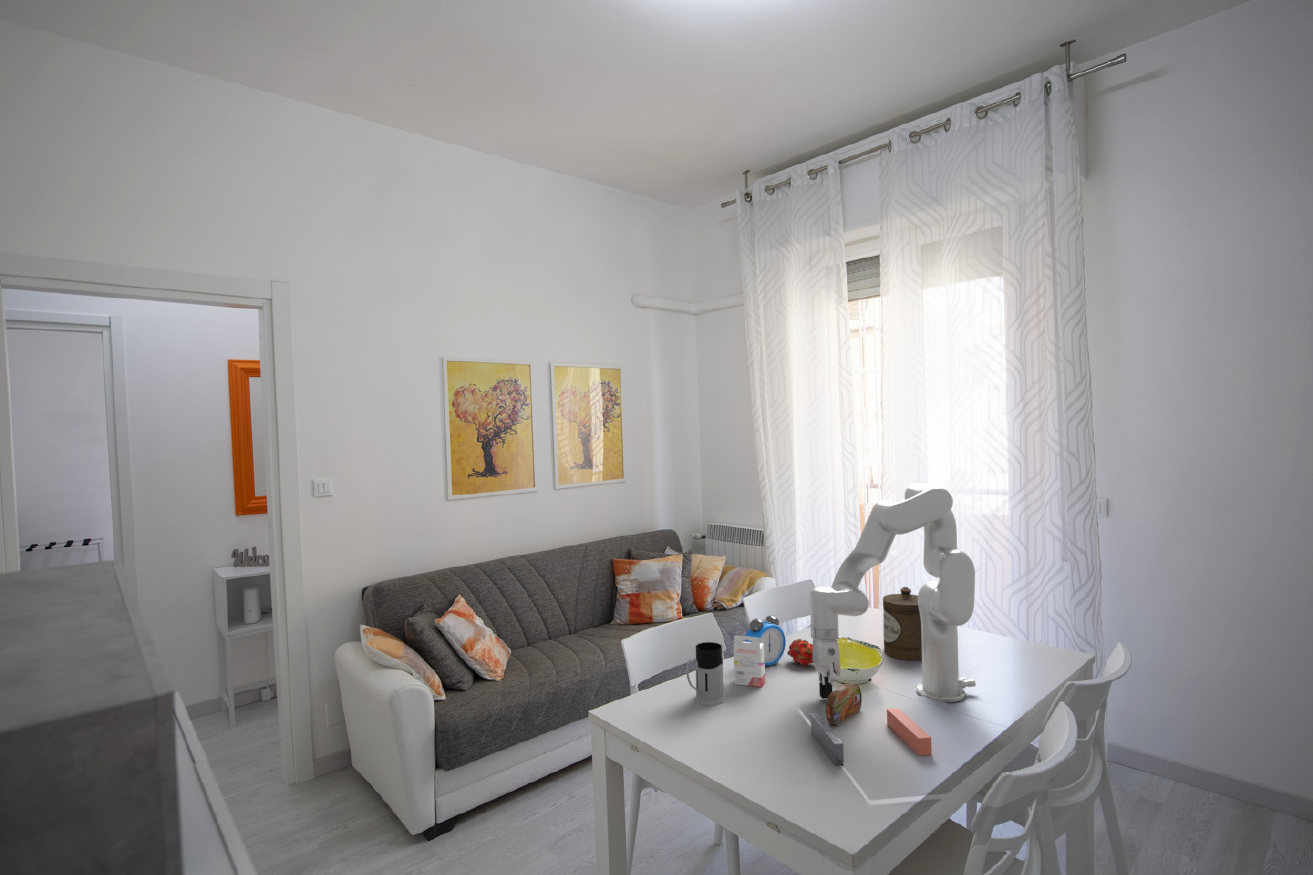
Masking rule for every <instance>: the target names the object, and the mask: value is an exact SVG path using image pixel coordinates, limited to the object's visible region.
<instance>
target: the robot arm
mask: <svg viewBox="0 0 1313 875" xmlns="http://www.w3.org/2000/svg"><path fill="white" fill-rule="evenodd" d="M904 499H905V500H903V501H900V502H897V501H893V500H886V499H885V500H881V501H878V502H876V503H875V504H874V505H873V507H872V509H871V511H870V513H869V515H868V518H867V520H866V522H865V524H864V527H863V528H862V532H861V534H860V536H859V539H858V542H856V546H855V547H854V549H853V550H851V552H850V553H849V554H848V555H847V557H846V558H845V559H844V560H843V561H842V562H841V564H840V566H839V568H838V570H837V572H836V574H835V577H834V579H833V582H832V584H831V587H830V586H816V587H813V588H811V590H810V592H809V604H810V605H809V606H810V614H809V615H810V638H811V639H812V645H813V663H812V664H813V665H812V666H813V667H814V668H815V669H816V670H817V672H818V681H819V682H818V684H819V686H818V687H819V688H818V689H819V697H820V698H821V699H823V700H824V699H827V698H828V696H829V694H830V693H831V692H833V684H834V683H835V676H837V677H841V675H842V674H841V656H840V654H841V653H840V649H839V648H840V647H839V641H838V640H839V638H840V637H839V634H840V633H839V616H846V617H847V616H848V617H859V616H862V615H864V614H865V613H866V612H867V611H868V610H869V606H870V600H869V598H868V596H867V595H866V594H865V593H864V592H863V591H862V590H860V588H859V586H860V584H861V581H862V580H863V578H864V576H865V575H866V573H867V572H868V571H869V570H870V569H872V568H873V567H875V566H878V565H880V564H882V563H883V562H885V560H886V559H887V557H888V554H889V553H890V549H891V547H892V544H893V542H894V540H895V538H896V535H905V534H909V533H911V532H914V531H916V530H918V529H920V528H922V527H923V535H924V538H923V559H922V560H923V567H924V570H925V571H926V572H927V574H929V575H931V576H932V577H934V578H935V579H938V580H939V581H938V580H936V581H935V580H933V581H931V580H930V581H927V582H926V583H924V584H923V585H922V586H921V587H920V588H919V591H918V607H919V612H920V618H921V634H922V637H921V639H922V660H921V675H922V676H921V677H922V678H921V681H922V682H920V683H918V684H917V685H916V692H917V693H918V695H920V696H921V697H926V698H929V699H932V700H938V701H942V702H945V703H956V702H961V701H963V700H964V699H965V698H966V692H965V690H964V689H966V688H973V687H976V681H975V679H966V677H959V676H960V675H959V671H960V670H959V632H958V631H959V630H958V627H959V626H960V627H961V626H963V625H965V624H966V623H968V622H969V621H970V619H971V618H972V616H973V613H974V610H975V609H974V608H975V592H976V591H975V590H976V587H975V585H976V569H975V565H974V562H973V561H972V559H971V557H970V556H969V555H968V554H967V553H966V552H964V551H962V550H960V549H958V536H957V534H958V533H957V529H958V528H957V522H956V518H955V515H954V513H953V511H952V507H953V503H954V502H953V501H954V500H953V496H952V494H951V493H950V491H949V490H947V489H946V488H944V487H941V486H937V485H933V484H929V483H923V482H922V483H921V482H915V483H912V484H910V485H909V486H907V488H906V489H905V492H904Z"/></svg>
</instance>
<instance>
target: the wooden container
mask: <svg viewBox="0 0 1313 875" xmlns="http://www.w3.org/2000/svg"><path fill="white" fill-rule="evenodd" d="M911 592H912V590H911V589H910V588H909V587H907V586H903V587H901V588H900V593H892V594H887V595H884V596H883V597H882V608H883V609H882V610H883V613H882V614H883V615H882V616H883V621H882V622H883V625H882V626H883V627H882V628H883V650H884V653H885V654H886V655H888V656H890V657H892V658H894V659H898V660H905V661H906V660H908V661H919V660H920V661H922V639H921V637H922V634H921V618H920V612H919V607H918V595H917V594H911Z"/></svg>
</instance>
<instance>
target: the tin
mask: <svg viewBox="0 0 1313 875" xmlns="http://www.w3.org/2000/svg"><path fill="white" fill-rule="evenodd" d="M862 701H863V697H862V691H861V688H860V687H859V685H858V684H856V683H847V682H846V683H844V684H843V685H841V686H840V687H838V688H836V689H834V690H832V692H831V693H830V694H829V696H828V698H826V701H825V707H824V708H825V716H826V721H827V722H828V723H829V724H831V725H833V726H837V727H839V725H840V724H842V723H843V722H845V721H846V720H848V719H849V718H851V716H853V715H854V714H856V713H860V711H861V708H862Z"/></svg>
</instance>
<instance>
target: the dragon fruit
mask: <svg viewBox="0 0 1313 875" xmlns="http://www.w3.org/2000/svg"><path fill="white" fill-rule="evenodd" d="M786 654H787V656H790V657H791V658H792V660H793V662H794V664H795V665H797V664H798V663H799V664H800V665H802V667H803V666H804V667H805V668H813V667H814V665H811V664H813V643H810V642H809V640H806V639H804V640H803V639H802V638H798V639H794V640H793V641H792V642H791V643H790V645H789V646H788V651H787V653H786Z"/></svg>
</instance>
